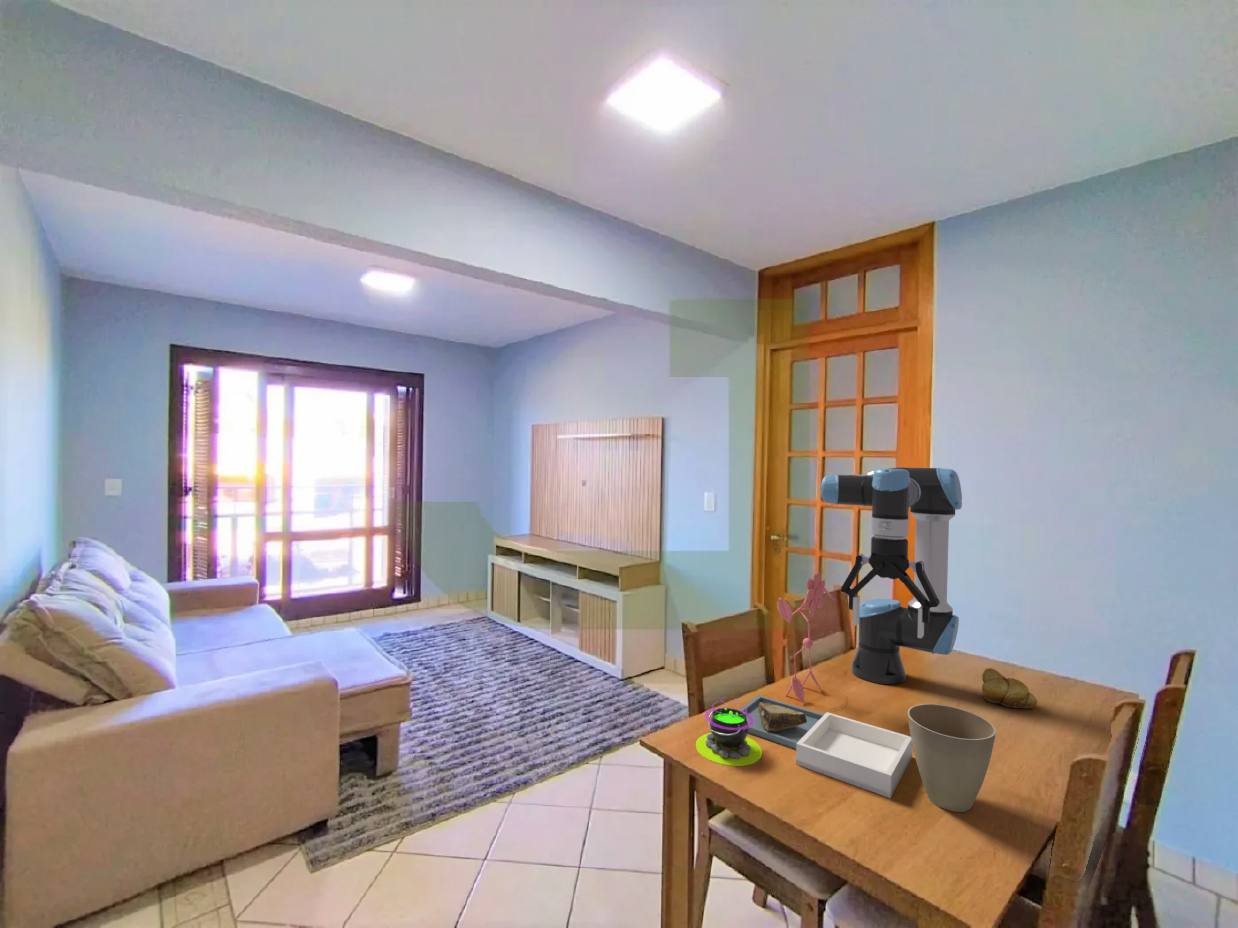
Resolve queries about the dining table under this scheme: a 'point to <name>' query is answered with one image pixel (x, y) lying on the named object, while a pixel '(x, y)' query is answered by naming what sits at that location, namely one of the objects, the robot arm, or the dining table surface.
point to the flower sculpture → (812, 604)
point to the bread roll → (1006, 690)
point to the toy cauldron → (729, 738)
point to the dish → (855, 753)
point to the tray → (781, 736)
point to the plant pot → (951, 753)
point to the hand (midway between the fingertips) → (887, 630)
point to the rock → (779, 717)
